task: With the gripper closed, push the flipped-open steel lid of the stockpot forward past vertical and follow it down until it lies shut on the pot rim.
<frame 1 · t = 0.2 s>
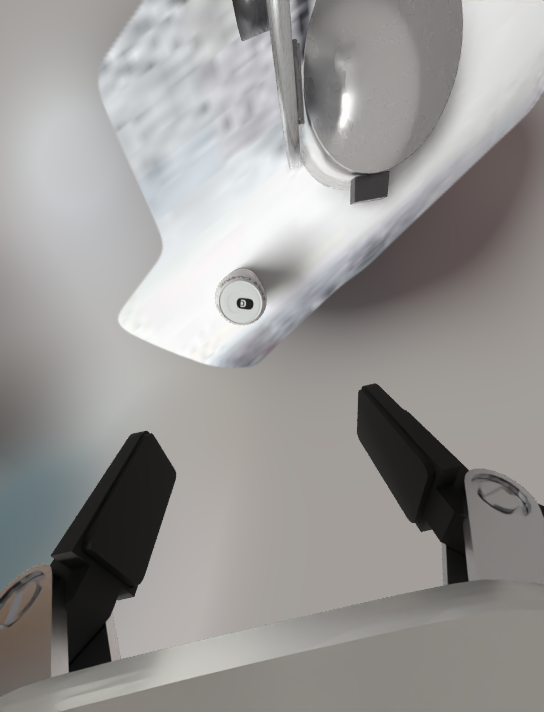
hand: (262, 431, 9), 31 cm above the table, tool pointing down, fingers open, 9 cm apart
energy drink can: (243, 286, 36), on the table
pot: (348, 117, 28), on the table
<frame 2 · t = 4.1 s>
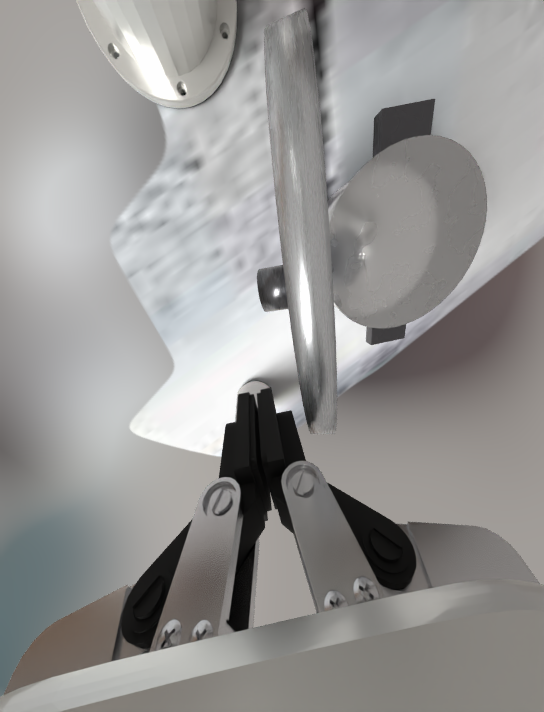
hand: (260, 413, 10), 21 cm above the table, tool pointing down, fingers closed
lid: (294, 284, 13), point 16 cm above the table, hinge at 105.0°, touching gripper
energy drink can: (254, 392, 36), on the table
pot: (362, 251, 27), on the table
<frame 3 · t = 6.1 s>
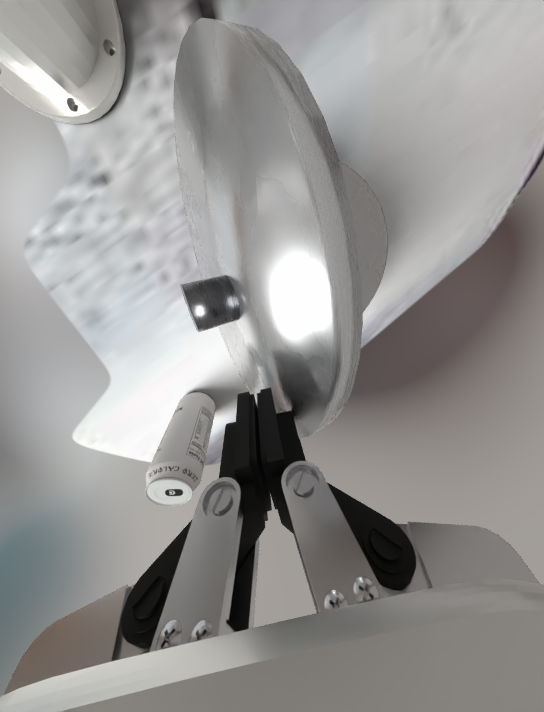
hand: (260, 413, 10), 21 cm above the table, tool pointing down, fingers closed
lid: (222, 299, 12), point 17 cm above the table, hinge at 69.2°, touching gripper
energy drink can: (198, 402, 35), on the table
pot: (290, 264, 27), on the table
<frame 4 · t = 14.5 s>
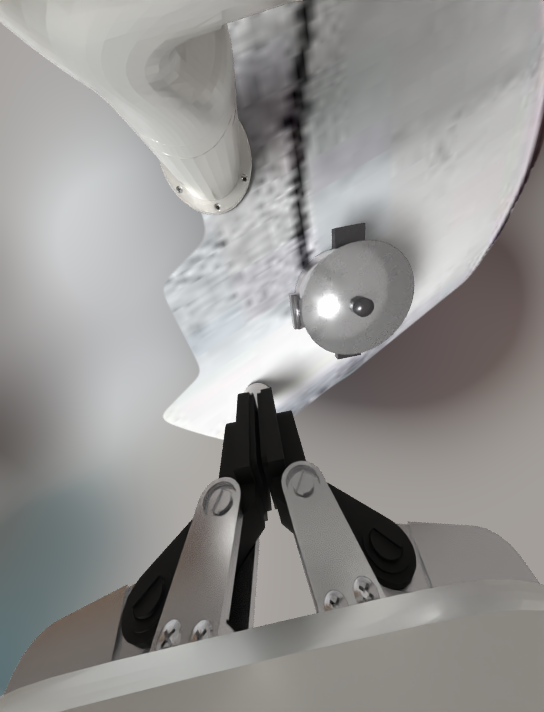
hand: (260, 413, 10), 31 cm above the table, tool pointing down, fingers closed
lid: (356, 305, 30), point 10 cm above the table, hinge at 2.9°
energy drink can: (257, 390, 48), on the table
pot: (333, 293, 39), on the table
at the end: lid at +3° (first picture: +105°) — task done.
